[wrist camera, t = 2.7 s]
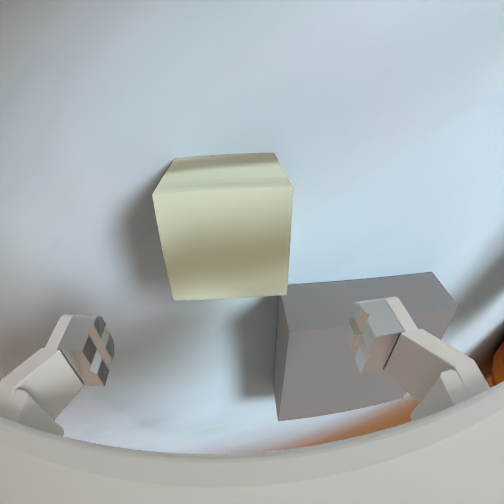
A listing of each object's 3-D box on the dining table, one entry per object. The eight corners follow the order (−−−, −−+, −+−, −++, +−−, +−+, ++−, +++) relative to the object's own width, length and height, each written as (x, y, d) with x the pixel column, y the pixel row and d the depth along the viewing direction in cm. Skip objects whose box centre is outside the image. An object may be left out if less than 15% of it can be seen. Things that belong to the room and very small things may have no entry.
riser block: (279, 285, 19) (289, 331, 16) (432, 271, 20) (458, 306, 16) (273, 383, 26) (278, 420, 22) (389, 366, 26) (402, 397, 23)
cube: (174, 157, 14) (152, 194, 10) (273, 152, 14) (292, 186, 10) (185, 241, 17) (173, 300, 13) (272, 237, 17) (286, 294, 13)
